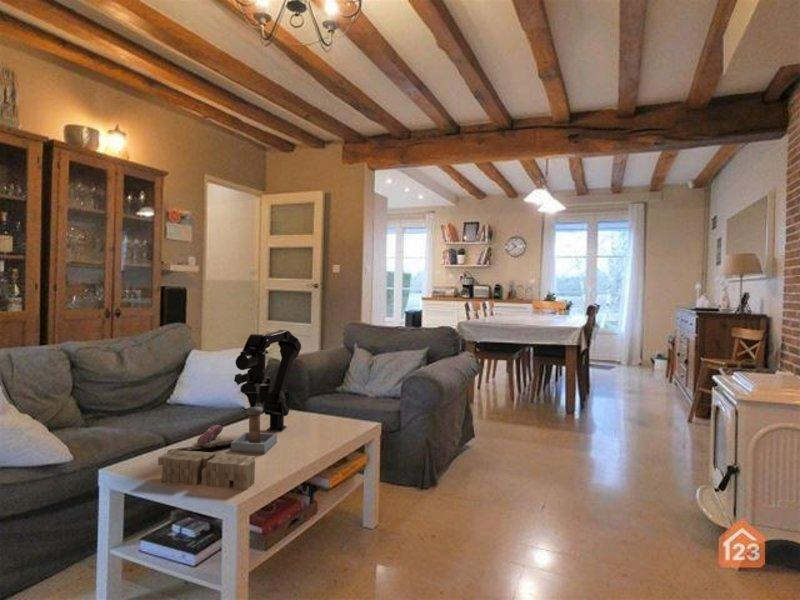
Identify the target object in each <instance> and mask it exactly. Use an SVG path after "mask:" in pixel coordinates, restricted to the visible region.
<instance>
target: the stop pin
mask: <svg viewBox="0 0 800 600" xmlns="http://www.w3.org/2000/svg"><path fill="white" fill-rule="evenodd" d="M263 410H264V407H262V406H255V407H247V409H246V414H247V415H248V432H249V443H260V433H261V414H262V413H263V412H264V411H263Z"/></svg>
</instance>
